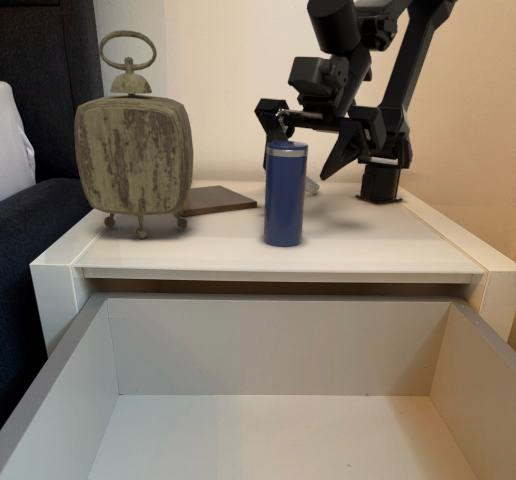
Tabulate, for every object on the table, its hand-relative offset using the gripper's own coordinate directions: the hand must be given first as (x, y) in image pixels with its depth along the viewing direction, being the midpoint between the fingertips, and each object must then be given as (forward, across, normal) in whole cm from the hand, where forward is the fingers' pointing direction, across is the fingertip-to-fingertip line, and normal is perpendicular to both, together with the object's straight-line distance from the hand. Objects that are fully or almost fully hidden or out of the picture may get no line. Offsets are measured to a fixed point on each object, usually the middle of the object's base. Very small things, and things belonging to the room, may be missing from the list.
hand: (292, 173), depth 68 cm
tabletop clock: (+15, -17, -2) cm, 23 cm away
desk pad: (+1, -23, +12) cm, 26 cm away
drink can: (+8, 0, +5) cm, 9 cm away
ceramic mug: (-11, -16, +24) cm, 31 cm away
